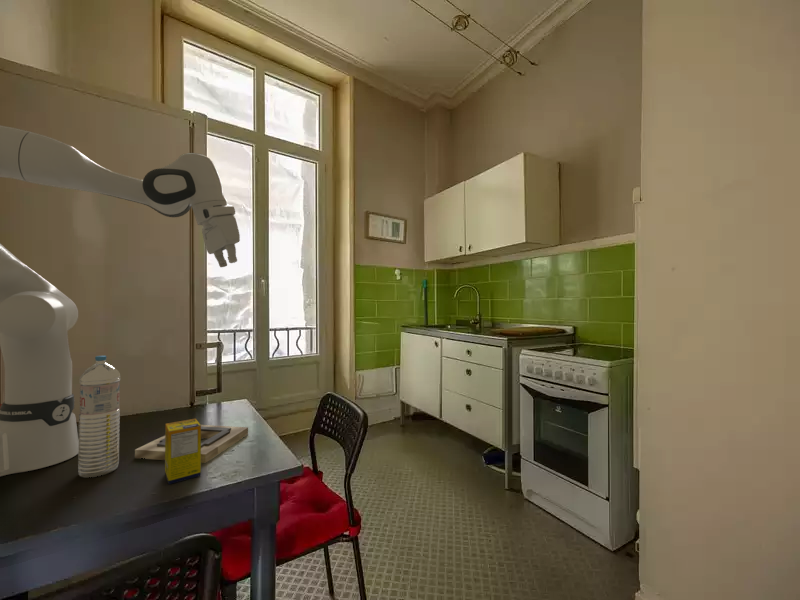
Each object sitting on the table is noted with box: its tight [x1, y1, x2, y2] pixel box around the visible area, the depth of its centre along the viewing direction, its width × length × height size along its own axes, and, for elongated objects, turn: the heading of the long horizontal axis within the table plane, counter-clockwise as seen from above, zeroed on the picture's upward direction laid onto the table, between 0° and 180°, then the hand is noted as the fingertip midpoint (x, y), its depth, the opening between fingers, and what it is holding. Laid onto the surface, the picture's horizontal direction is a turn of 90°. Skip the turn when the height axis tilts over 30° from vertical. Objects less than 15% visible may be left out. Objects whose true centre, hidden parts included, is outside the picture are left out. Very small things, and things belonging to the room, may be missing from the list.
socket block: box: [134, 424, 249, 464], centre depth 92 cm, size 18×18×2 cm
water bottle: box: [77, 355, 121, 479], centre depth 78 cm, size 7×7×25 cm
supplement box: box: [164, 418, 202, 485], centre depth 77 cm, size 6×6×11 cm
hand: (228, 264), depth 100 cm, fingers open, 8 cm apart
